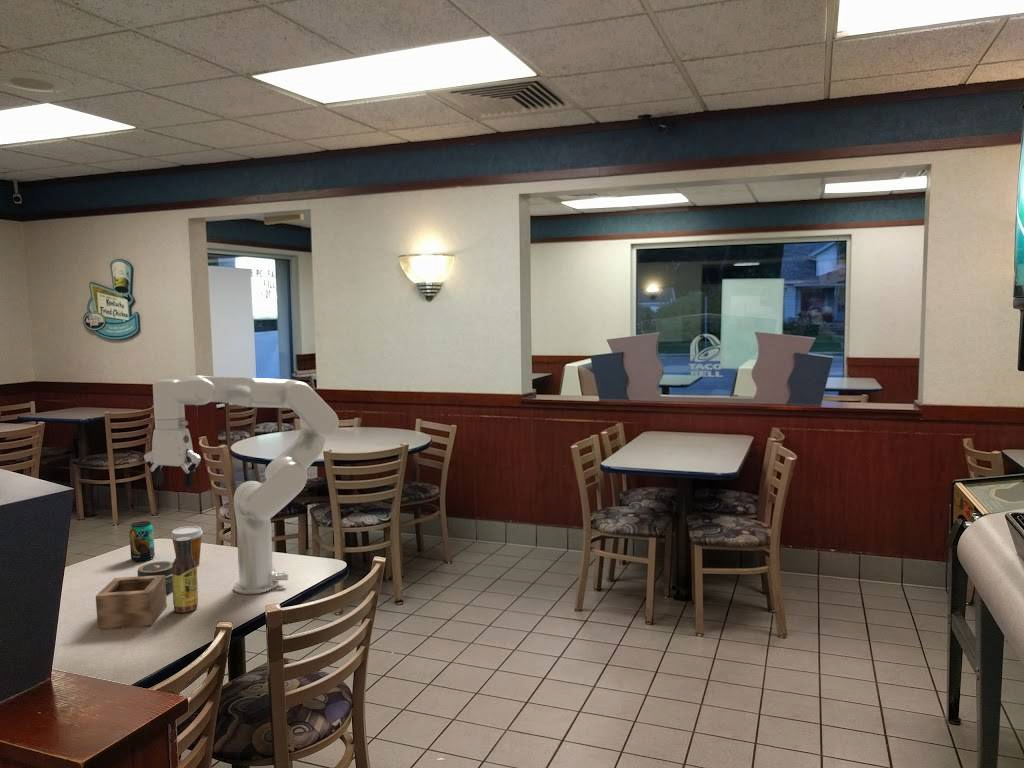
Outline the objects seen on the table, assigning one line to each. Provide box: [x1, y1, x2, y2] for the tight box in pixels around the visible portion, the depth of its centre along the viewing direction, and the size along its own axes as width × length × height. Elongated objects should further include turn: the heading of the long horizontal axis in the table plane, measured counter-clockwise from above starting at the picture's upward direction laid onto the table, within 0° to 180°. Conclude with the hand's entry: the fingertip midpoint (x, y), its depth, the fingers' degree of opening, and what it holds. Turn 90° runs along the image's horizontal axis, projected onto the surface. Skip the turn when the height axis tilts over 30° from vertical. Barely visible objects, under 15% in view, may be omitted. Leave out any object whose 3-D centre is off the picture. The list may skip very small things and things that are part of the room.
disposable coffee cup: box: [170, 525, 204, 567], centre depth 237 cm, size 10×10×12 cm
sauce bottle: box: [172, 537, 199, 614], centre depth 203 cm, size 7×6×20 cm
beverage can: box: [128, 520, 156, 562], centre depth 245 cm, size 7×7×12 cm
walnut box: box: [95, 575, 168, 630], centre depth 198 cm, size 13×13×9 cm
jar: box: [137, 560, 173, 595], centre depth 216 cm, size 10×10×8 cm
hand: (173, 485), depth 204 cm, fingers open, 9 cm apart
